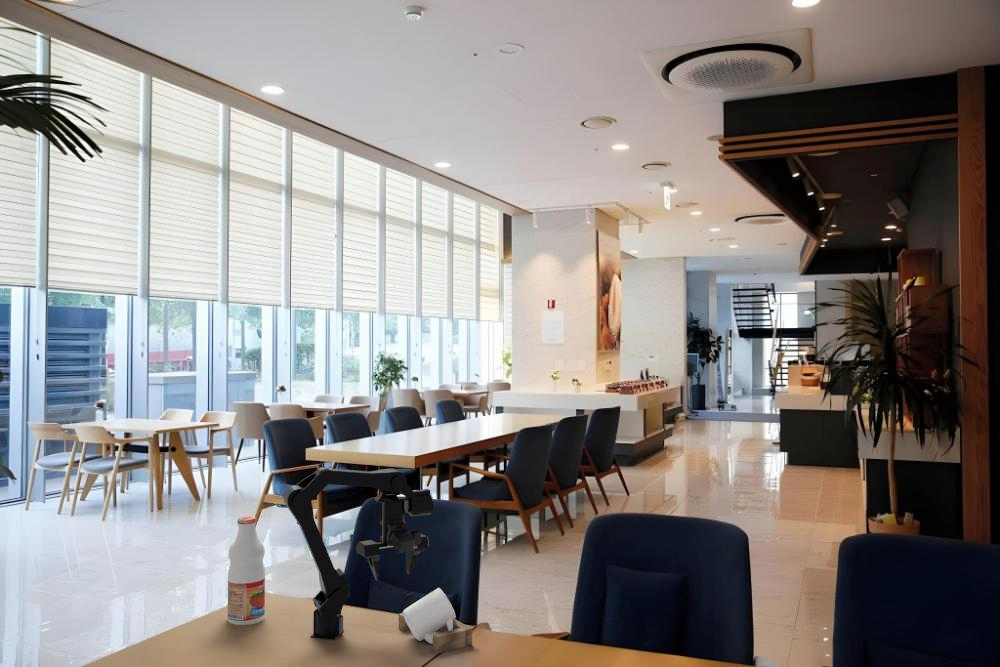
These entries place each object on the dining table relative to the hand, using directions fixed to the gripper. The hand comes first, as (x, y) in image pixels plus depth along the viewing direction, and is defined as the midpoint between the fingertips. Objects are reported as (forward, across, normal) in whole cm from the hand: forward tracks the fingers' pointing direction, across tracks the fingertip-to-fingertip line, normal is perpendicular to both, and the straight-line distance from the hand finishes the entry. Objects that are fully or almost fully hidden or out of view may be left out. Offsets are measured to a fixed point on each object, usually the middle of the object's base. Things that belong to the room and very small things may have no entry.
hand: (393, 577), depth 204 cm
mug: (+10, -1, -13) cm, 17 cm away
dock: (+13, +6, -12) cm, 19 cm away
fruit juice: (+13, -31, +24) cm, 42 cm away
